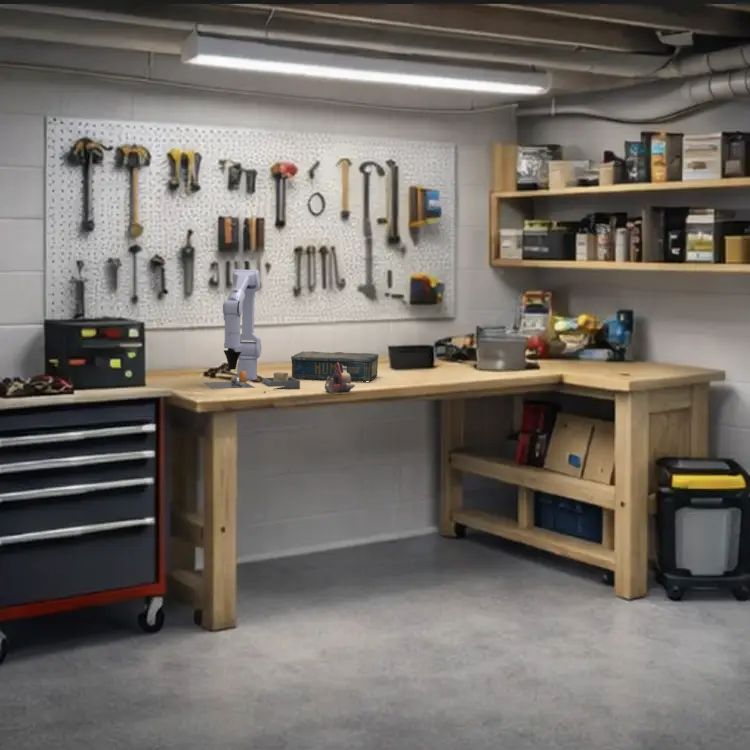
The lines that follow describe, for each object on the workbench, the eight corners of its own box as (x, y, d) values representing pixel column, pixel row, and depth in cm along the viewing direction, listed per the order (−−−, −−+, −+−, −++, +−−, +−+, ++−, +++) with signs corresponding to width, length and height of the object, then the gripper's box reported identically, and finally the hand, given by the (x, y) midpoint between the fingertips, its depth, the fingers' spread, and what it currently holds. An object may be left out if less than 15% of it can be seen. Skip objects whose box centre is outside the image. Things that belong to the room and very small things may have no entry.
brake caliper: (315, 383, 441) (334, 358, 442) (337, 400, 445) (356, 375, 446) (324, 387, 431) (343, 361, 432) (346, 405, 434) (366, 379, 436)
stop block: (278, 384, 451) (279, 371, 450) (288, 385, 449) (288, 372, 448) (273, 386, 447) (273, 372, 447) (282, 386, 445) (282, 373, 445)
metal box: (369, 383, 467) (370, 358, 466) (289, 380, 473) (290, 355, 472) (379, 377, 488) (379, 353, 487) (302, 374, 494) (303, 350, 493)
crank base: (202, 385, 448) (202, 381, 448) (244, 384, 454) (244, 381, 453) (212, 391, 431) (212, 388, 431) (255, 390, 437) (255, 387, 436)
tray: (262, 385, 452) (262, 377, 451) (291, 384, 455) (291, 377, 455) (269, 389, 441) (269, 381, 440) (299, 388, 445) (299, 380, 444)
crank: (230, 381, 449) (230, 368, 449) (239, 381, 451) (239, 368, 450) (238, 385, 438) (239, 371, 438) (248, 385, 440) (248, 371, 439)
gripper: (248, 334, 431) (248, 371, 433) (237, 330, 445) (236, 366, 446) (230, 334, 429) (230, 371, 430) (218, 331, 442) (218, 367, 443)
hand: (232, 369), depth 438 cm, fingers closed
